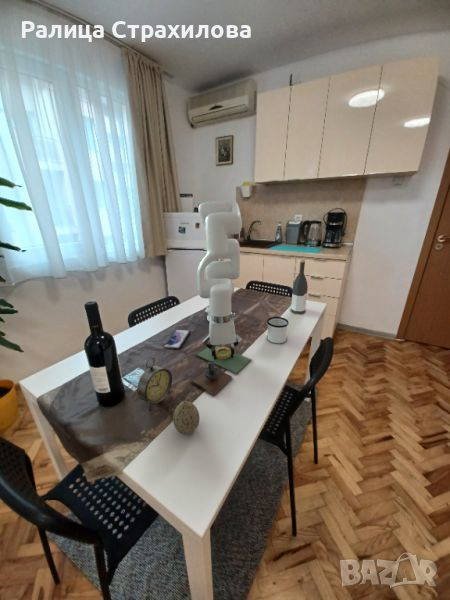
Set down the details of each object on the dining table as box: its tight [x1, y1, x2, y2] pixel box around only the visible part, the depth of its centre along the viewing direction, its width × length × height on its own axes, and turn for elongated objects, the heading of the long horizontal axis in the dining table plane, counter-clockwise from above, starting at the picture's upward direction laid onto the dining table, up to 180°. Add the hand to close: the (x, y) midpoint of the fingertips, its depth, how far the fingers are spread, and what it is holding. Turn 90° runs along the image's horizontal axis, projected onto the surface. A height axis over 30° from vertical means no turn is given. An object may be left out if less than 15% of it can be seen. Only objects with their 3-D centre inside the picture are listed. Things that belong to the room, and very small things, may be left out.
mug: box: [266, 316, 290, 344], centre depth 109 cm, size 12×10×9 cm
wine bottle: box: [290, 258, 309, 315], centre depth 131 cm, size 8×8×30 cm
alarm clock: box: [136, 357, 173, 411], centre depth 74 cm, size 11×5×16 cm, turn 148°
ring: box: [215, 346, 231, 359], centre depth 96 cm, size 6×6×1 cm
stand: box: [191, 361, 233, 396], centre depth 83 cm, size 10×10×8 cm
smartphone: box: [164, 329, 190, 349], centre depth 111 cm, size 7×1×15 cm
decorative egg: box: [172, 400, 200, 435], centre depth 65 cm, size 7×7×10 cm
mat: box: [196, 345, 251, 375], centre depth 97 cm, size 20×10×1 cm, turn 53°
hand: (223, 356), depth 97 cm, fingers closed on ring, 6 cm apart
